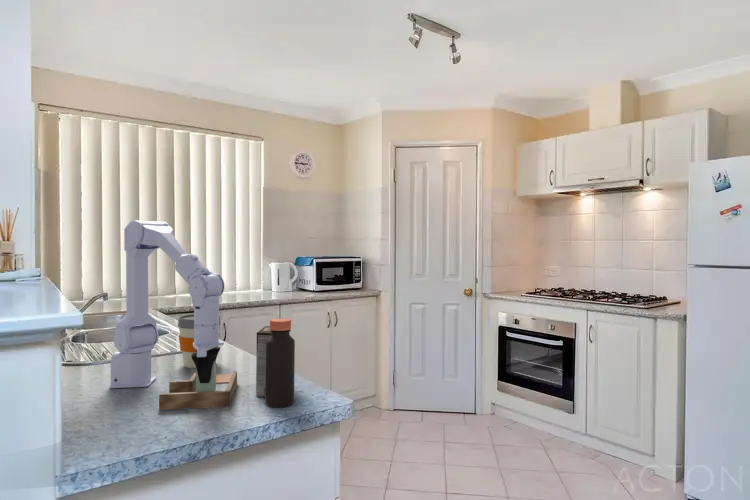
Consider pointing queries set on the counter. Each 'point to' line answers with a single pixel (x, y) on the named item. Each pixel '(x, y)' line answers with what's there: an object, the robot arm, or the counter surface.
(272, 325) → the bottle
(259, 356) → the coffee box
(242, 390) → the counter surface
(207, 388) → the sage block
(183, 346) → the reusable coffee cup
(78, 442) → the counter surface
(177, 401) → the channel
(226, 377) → the tile
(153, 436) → the counter surface
